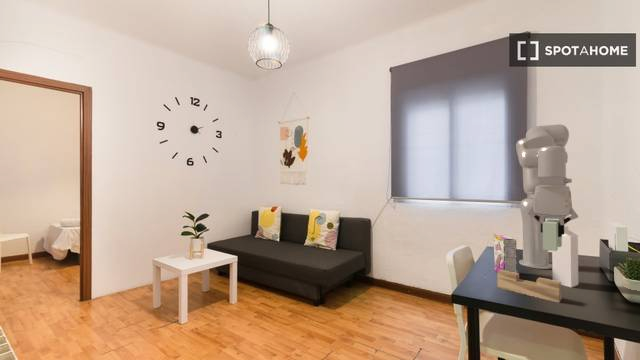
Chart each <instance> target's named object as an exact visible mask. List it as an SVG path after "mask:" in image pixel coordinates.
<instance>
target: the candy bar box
mask: <svg viewBox="0 0 640 360" xmlns="http://www.w3.org/2000/svg"><path fill="white" fill-rule="evenodd" d="M517 252H518V251H517V238H514V237H511V236H509V235H507V234H504V233H494V234H493V254H494V255H493V256H494V258H493V260H494V261H493V262H494V269H493V270H494V271H495V272H496V273H497V272H498V271H499V270H504V271H509V272H514V273H518V263H517V262H518V260H517V259H518V258H517V256H518V255H517Z"/></svg>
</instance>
